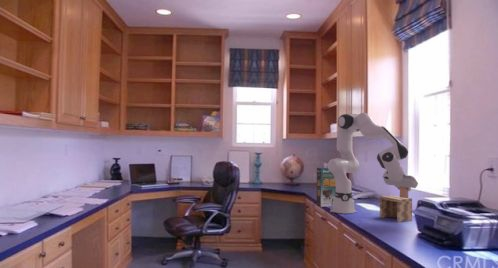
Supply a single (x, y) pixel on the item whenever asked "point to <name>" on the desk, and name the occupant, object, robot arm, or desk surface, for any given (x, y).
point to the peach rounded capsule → (403, 192)
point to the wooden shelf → (396, 207)
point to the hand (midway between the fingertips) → (404, 189)
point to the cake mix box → (325, 187)
